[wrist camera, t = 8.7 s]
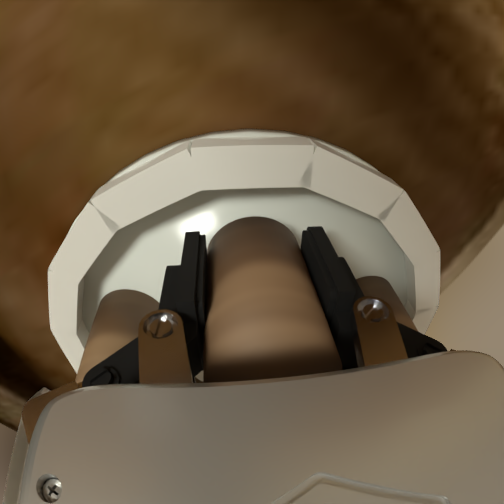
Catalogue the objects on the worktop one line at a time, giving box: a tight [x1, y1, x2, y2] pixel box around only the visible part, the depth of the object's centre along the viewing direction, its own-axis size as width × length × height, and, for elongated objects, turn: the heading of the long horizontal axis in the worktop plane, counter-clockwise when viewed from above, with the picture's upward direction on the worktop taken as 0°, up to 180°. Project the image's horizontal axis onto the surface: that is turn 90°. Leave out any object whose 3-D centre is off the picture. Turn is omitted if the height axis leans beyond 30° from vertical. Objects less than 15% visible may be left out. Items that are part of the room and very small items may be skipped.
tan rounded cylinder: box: [203, 216, 342, 383], centre depth 11 cm, size 4×4×6 cm
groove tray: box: [48, 129, 440, 381], centre depth 18 cm, size 22×22×2 cm
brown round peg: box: [356, 276, 418, 331], centre depth 15 cm, size 4×4×6 cm
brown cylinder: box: [75, 289, 159, 383], centre depth 14 cm, size 4×4×6 cm
